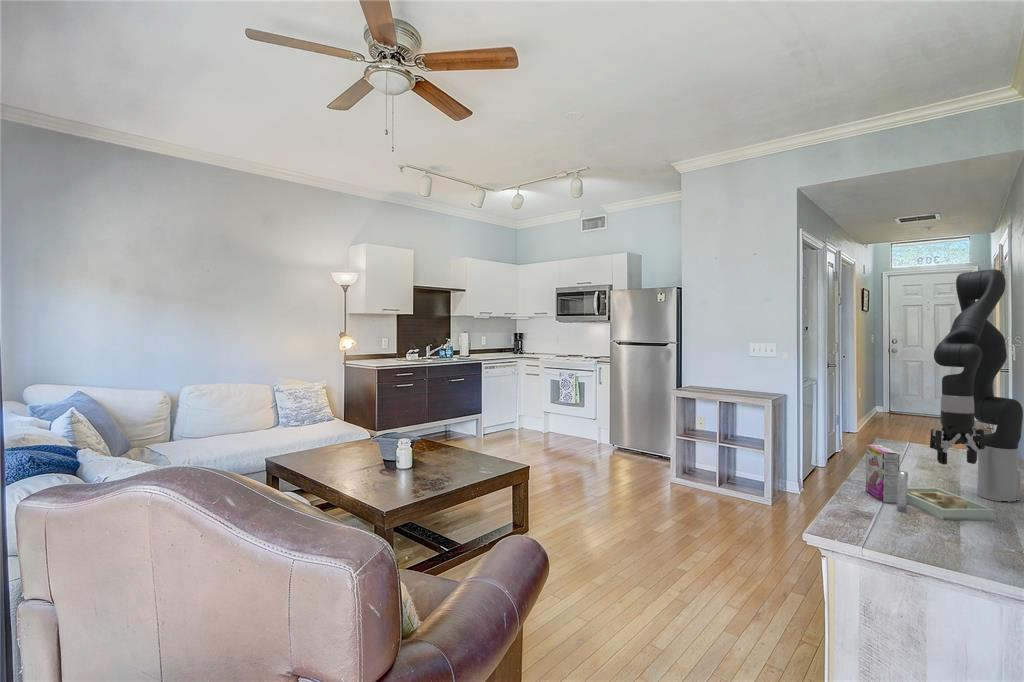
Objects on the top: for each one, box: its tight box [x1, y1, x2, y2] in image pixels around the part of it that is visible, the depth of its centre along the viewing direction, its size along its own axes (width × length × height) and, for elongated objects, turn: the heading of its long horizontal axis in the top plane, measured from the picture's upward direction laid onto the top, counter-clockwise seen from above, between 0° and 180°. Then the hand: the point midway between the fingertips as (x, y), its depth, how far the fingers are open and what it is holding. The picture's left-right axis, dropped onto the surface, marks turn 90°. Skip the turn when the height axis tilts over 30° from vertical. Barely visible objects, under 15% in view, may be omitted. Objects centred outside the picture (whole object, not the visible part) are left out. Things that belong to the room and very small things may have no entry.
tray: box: [907, 487, 996, 521], centre depth 153 cm, size 15×20×3 cm
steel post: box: [896, 470, 909, 513], centre depth 150 cm, size 2×2×12 cm
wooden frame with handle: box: [909, 492, 967, 509], centre depth 153 cm, size 14×9×4 cm, turn 179°
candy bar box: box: [865, 444, 900, 504], centre depth 162 cm, size 11×5×16 cm, turn 168°
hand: (956, 463), depth 148 cm, fingers open, 8 cm apart
